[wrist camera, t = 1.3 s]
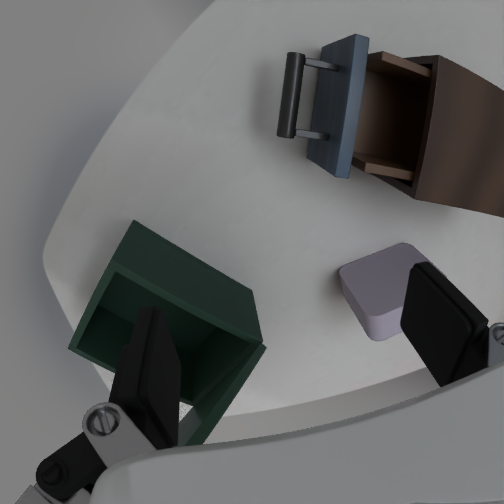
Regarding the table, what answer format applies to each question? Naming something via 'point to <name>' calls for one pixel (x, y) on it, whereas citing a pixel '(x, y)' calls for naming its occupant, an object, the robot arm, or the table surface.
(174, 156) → the table surface
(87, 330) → the chest
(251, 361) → the chest lid
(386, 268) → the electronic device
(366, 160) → the drawer
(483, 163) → the cabinet
